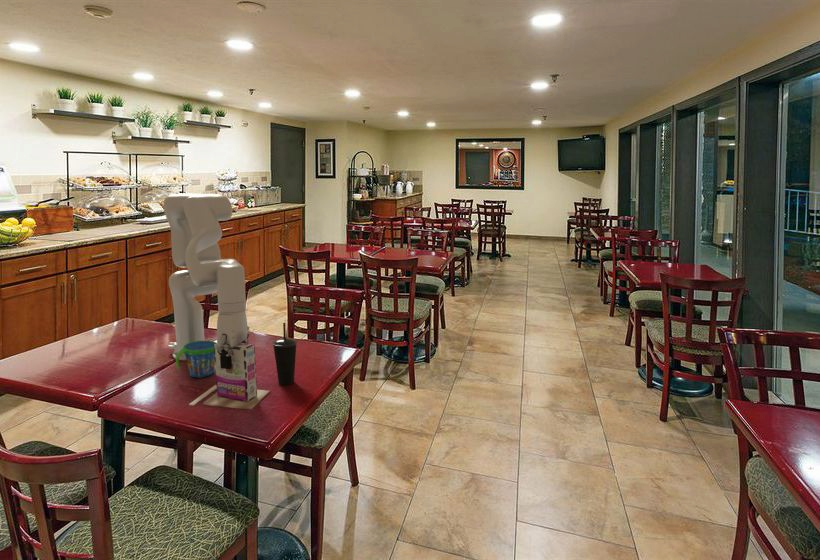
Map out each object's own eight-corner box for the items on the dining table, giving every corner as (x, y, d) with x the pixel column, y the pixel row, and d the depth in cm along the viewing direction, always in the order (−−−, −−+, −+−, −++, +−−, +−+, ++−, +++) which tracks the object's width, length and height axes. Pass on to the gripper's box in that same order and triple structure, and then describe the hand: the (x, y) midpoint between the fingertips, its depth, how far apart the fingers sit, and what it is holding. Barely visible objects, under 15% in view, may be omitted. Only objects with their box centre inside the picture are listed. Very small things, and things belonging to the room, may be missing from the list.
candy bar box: (258, 396, 152) (255, 343, 148) (247, 402, 147) (244, 349, 144) (227, 390, 155) (224, 339, 152) (216, 396, 151) (213, 344, 147)
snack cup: (222, 364, 177) (220, 337, 175) (230, 374, 169) (229, 345, 167) (173, 373, 168) (171, 344, 166) (180, 384, 160) (178, 354, 158)
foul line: (189, 405, 146) (188, 404, 146) (215, 385, 159) (214, 385, 159) (193, 405, 146) (193, 404, 146) (219, 386, 159) (219, 385, 159)
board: (202, 404, 146) (202, 403, 146) (224, 388, 158) (224, 386, 158) (251, 409, 144) (251, 407, 144) (269, 392, 155) (269, 390, 155)
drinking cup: (276, 378, 166) (274, 319, 162) (299, 377, 167) (298, 319, 163) (271, 387, 159) (269, 326, 155) (296, 387, 160) (294, 326, 156)
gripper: (235, 298, 154) (237, 351, 158) (203, 313, 138) (206, 372, 141) (258, 299, 153) (260, 353, 157) (229, 315, 136) (231, 374, 140)
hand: (234, 362), depth 149 cm, fingers open, 9 cm apart
